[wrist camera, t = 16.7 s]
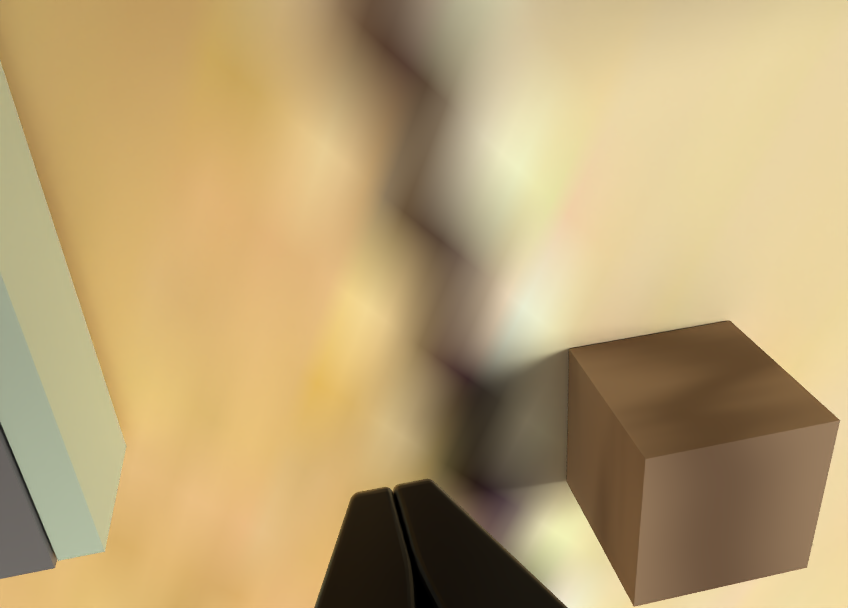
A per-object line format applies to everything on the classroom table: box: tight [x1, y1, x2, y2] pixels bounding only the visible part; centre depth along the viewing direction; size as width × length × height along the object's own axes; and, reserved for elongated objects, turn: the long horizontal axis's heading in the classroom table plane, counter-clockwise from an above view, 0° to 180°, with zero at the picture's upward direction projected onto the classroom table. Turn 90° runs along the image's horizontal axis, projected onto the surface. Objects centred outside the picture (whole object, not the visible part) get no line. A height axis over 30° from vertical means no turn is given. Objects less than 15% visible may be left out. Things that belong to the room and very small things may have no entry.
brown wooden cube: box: [567, 321, 840, 606], centre depth 22 cm, size 5×5×5 cm
